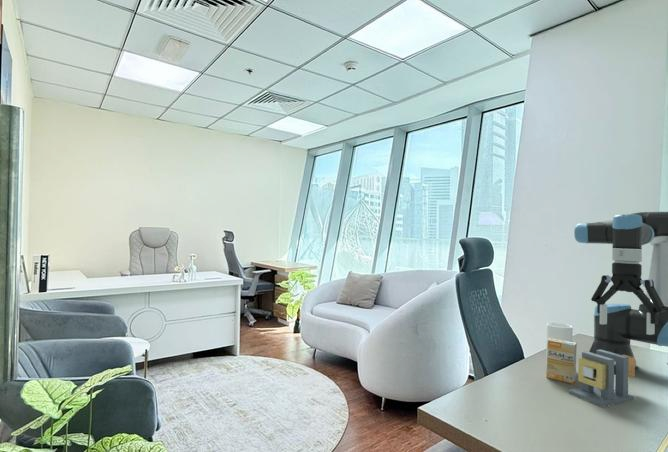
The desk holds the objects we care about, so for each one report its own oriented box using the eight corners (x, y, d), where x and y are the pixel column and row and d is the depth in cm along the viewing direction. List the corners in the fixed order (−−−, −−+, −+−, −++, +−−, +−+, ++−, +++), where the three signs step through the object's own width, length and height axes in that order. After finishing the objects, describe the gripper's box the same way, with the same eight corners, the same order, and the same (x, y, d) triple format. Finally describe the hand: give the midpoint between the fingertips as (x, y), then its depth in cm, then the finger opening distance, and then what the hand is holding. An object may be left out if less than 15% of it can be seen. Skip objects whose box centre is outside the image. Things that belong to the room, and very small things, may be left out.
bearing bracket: (599, 387, 122) (600, 348, 123) (634, 399, 113) (634, 357, 114) (568, 393, 117) (569, 352, 117) (602, 407, 107) (603, 362, 108)
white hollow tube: (575, 373, 135) (576, 328, 135) (550, 371, 136) (551, 326, 137) (566, 365, 143) (567, 323, 143) (542, 363, 144) (543, 321, 145)
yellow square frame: (582, 380, 117) (582, 357, 117) (606, 388, 110) (606, 364, 111) (578, 380, 116) (578, 358, 116) (602, 389, 110) (602, 365, 110)
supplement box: (545, 378, 129) (546, 339, 130) (548, 374, 133) (549, 337, 133) (574, 384, 124) (574, 344, 124) (576, 380, 128) (576, 342, 128)
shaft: (623, 373, 122) (623, 354, 122) (634, 376, 119) (634, 357, 119) (582, 380, 114) (582, 360, 114) (593, 384, 111) (593, 364, 111)
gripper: (580, 259, 131) (579, 320, 130) (666, 265, 108) (666, 340, 107) (594, 259, 134) (593, 319, 133) (681, 265, 111) (680, 338, 110)
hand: (625, 329), depth 120 cm, fingers open, 13 cm apart
